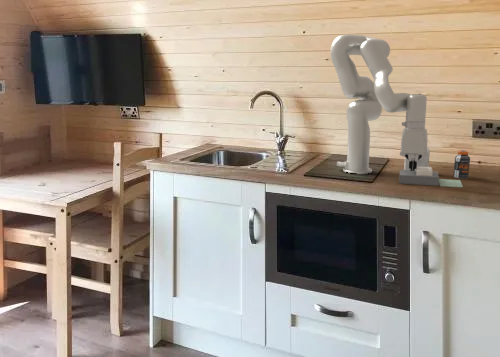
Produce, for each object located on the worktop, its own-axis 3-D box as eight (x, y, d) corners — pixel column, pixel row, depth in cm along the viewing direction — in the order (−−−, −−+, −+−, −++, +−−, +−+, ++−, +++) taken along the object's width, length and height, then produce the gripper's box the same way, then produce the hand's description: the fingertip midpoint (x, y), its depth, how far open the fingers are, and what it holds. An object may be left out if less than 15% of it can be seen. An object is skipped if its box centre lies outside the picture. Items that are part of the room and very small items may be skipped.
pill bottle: (458, 179, 220) (460, 152, 218) (450, 176, 226) (452, 149, 224) (471, 178, 222) (473, 151, 219) (463, 175, 227) (465, 149, 225)
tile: (416, 175, 212) (416, 170, 211) (415, 171, 219) (416, 166, 219) (432, 175, 210) (432, 171, 210) (431, 171, 218) (431, 167, 217)
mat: (439, 186, 208) (439, 185, 208) (438, 179, 219) (438, 178, 219) (462, 187, 206) (463, 186, 206) (459, 180, 217) (460, 180, 217)
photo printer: (428, 172, 233) (430, 144, 231) (427, 174, 230) (429, 146, 227) (404, 170, 237) (406, 143, 235) (403, 172, 233) (405, 144, 231)
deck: (398, 183, 213) (399, 175, 212) (399, 177, 223) (399, 169, 222) (438, 185, 209) (439, 177, 208) (436, 179, 219) (437, 171, 218)
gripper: (395, 126, 210) (393, 171, 214) (435, 127, 206) (432, 173, 210) (396, 124, 217) (393, 167, 221) (434, 125, 213) (431, 169, 217)
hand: (412, 170), depth 215 cm, fingers closed
